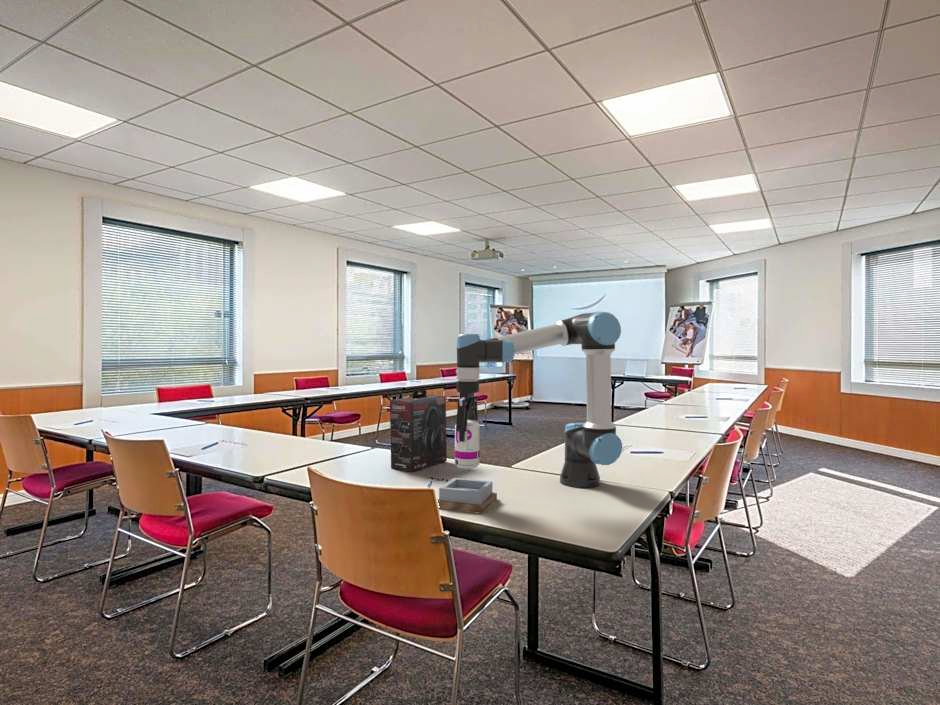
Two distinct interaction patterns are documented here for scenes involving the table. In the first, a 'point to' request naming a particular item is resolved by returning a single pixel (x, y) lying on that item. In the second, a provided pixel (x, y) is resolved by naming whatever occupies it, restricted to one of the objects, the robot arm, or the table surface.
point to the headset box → (418, 431)
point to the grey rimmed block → (466, 491)
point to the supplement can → (468, 446)
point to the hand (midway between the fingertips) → (467, 448)
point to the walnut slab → (468, 505)
